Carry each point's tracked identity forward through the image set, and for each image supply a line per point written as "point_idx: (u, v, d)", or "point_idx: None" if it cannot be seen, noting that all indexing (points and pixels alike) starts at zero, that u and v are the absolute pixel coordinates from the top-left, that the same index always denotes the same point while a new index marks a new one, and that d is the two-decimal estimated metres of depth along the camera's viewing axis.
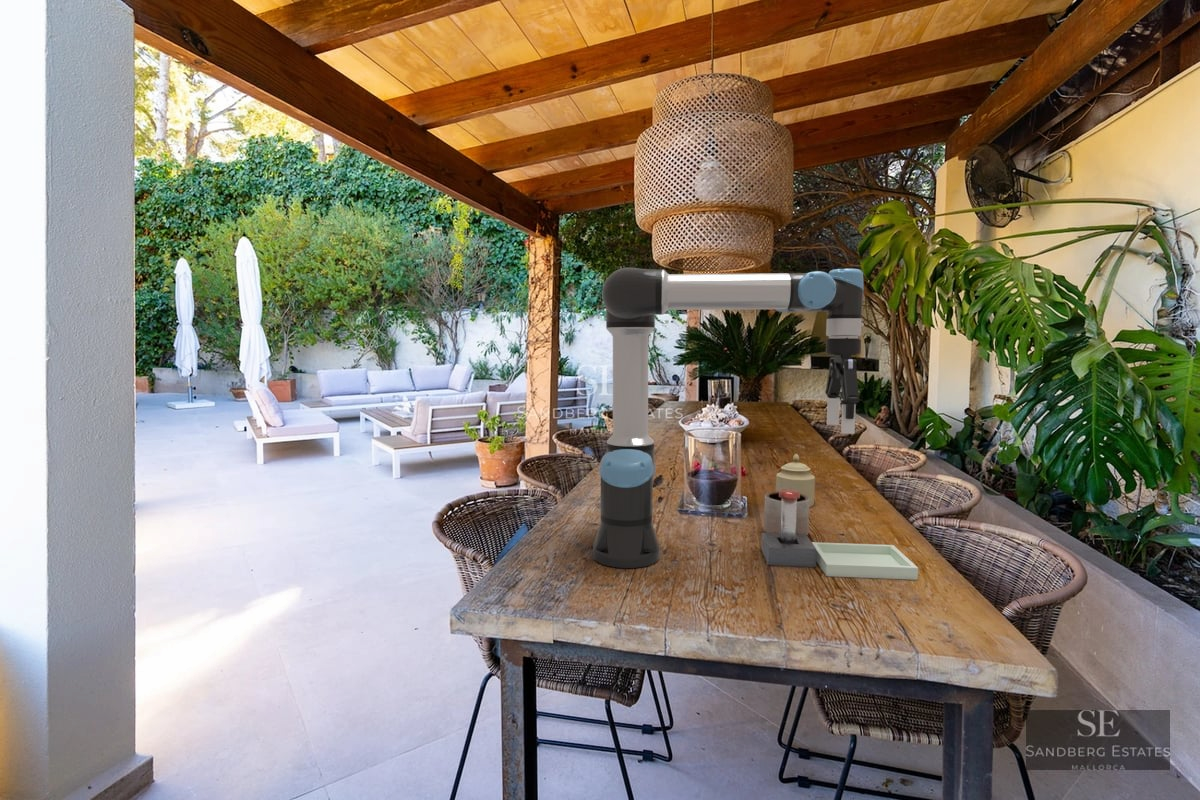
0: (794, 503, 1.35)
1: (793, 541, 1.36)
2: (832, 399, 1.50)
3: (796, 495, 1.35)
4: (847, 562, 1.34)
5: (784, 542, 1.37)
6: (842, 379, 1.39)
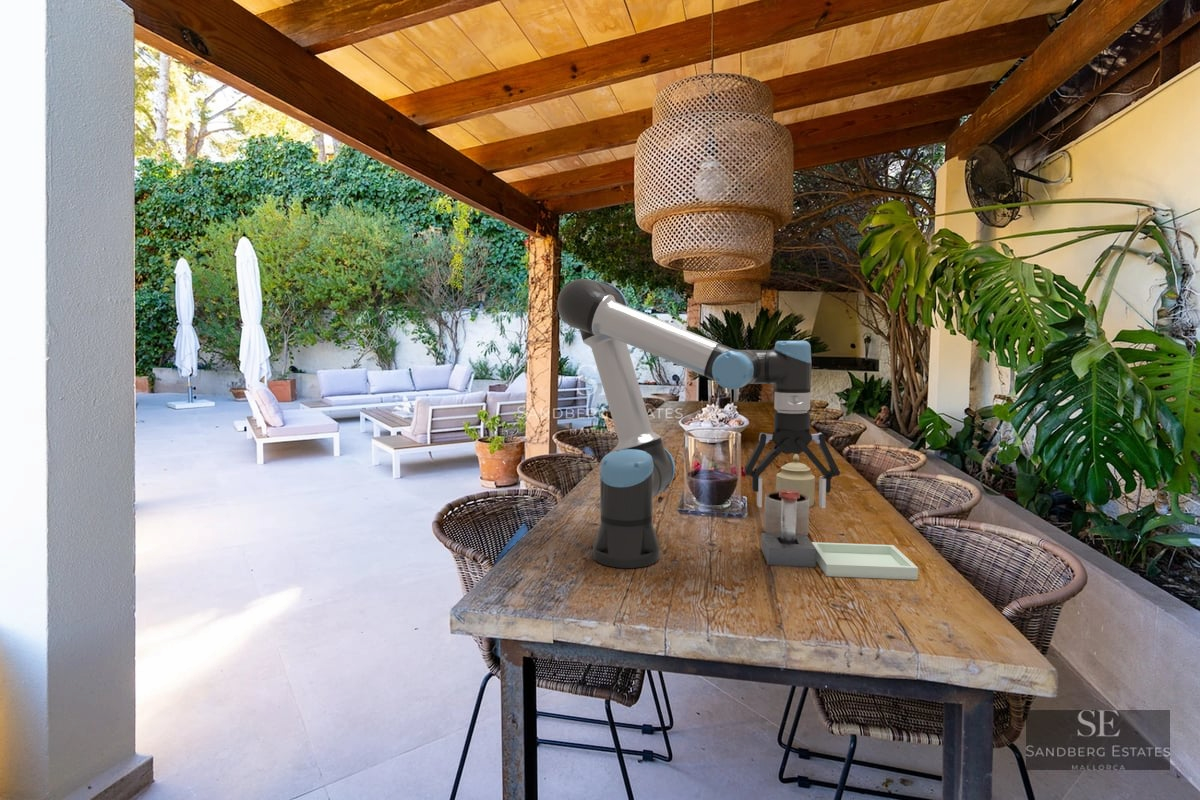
0: (794, 503, 1.35)
1: (793, 541, 1.36)
2: (820, 478, 1.36)
3: (796, 495, 1.35)
4: (847, 562, 1.34)
5: (784, 542, 1.37)
6: (769, 452, 1.37)
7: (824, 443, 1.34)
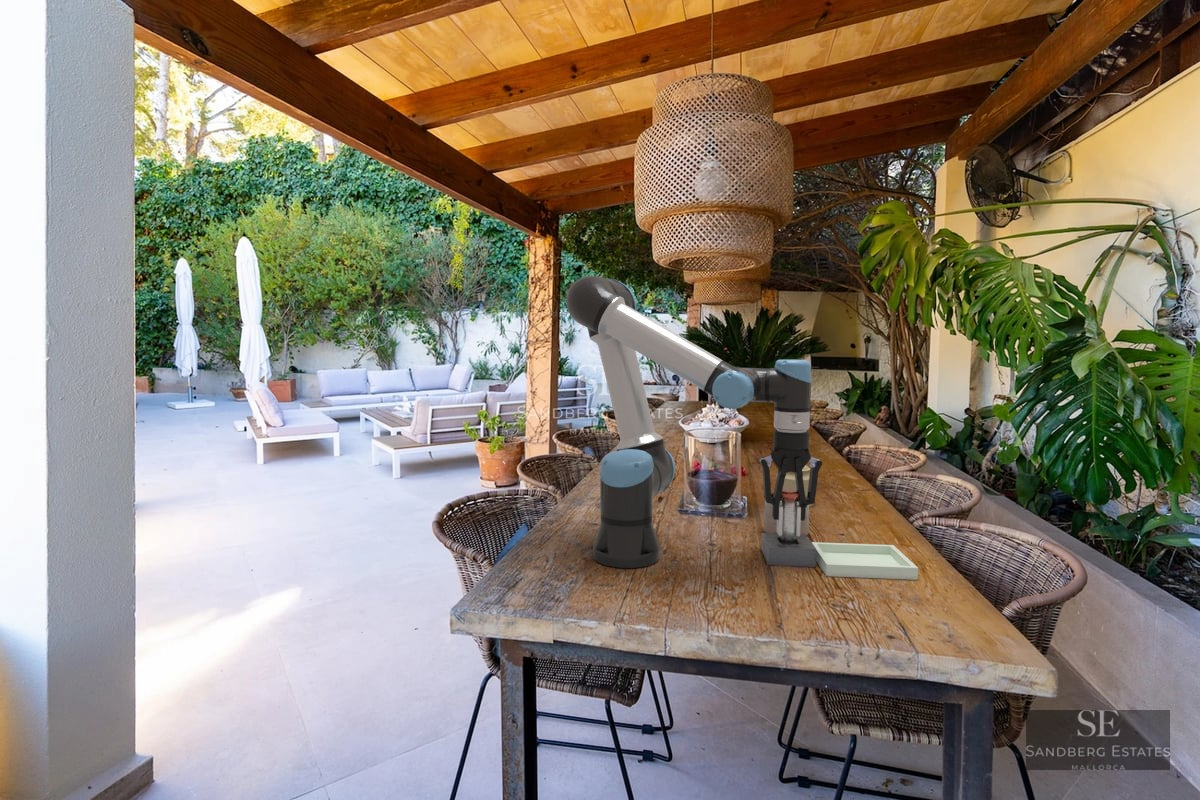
0: (794, 503, 1.35)
1: (793, 541, 1.36)
2: None
3: (796, 495, 1.35)
4: (847, 562, 1.34)
5: (784, 542, 1.37)
6: (777, 476, 1.38)
7: (817, 470, 1.34)
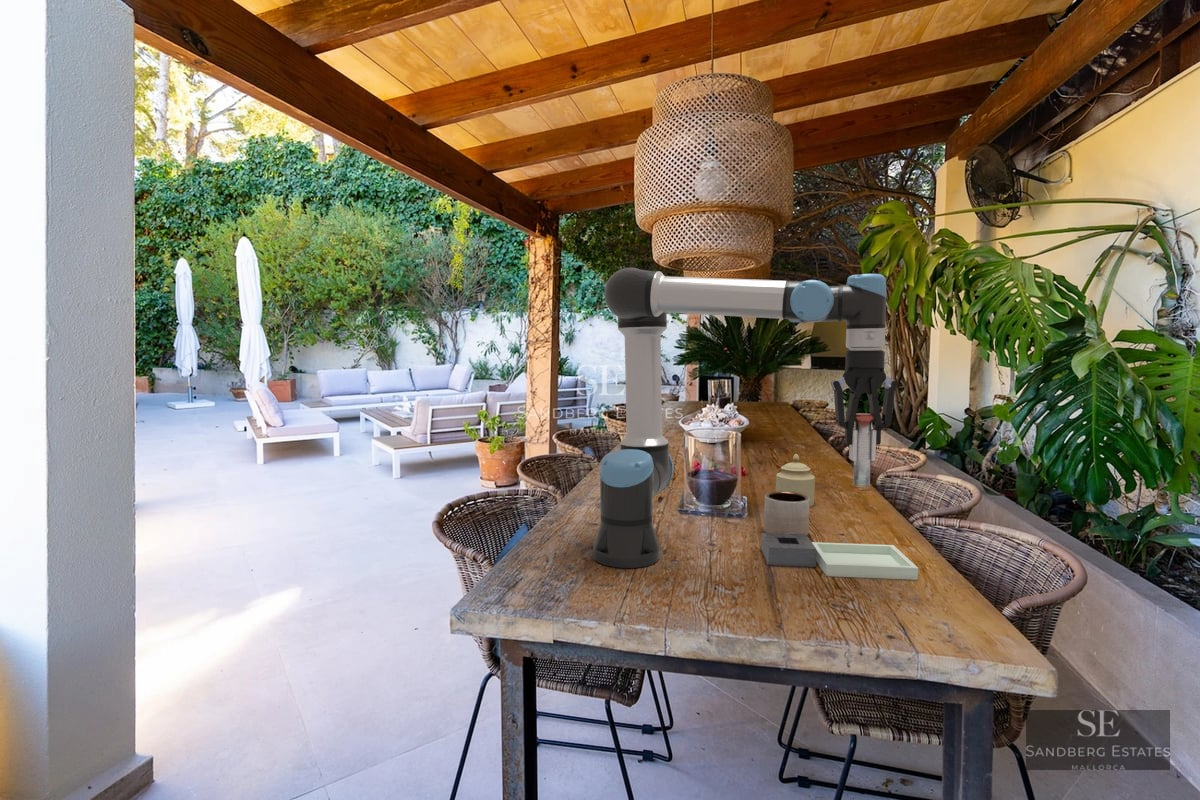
0: (869, 426, 1.29)
1: (868, 466, 1.30)
2: None
3: (871, 417, 1.28)
4: (847, 562, 1.34)
5: (858, 467, 1.30)
6: (850, 399, 1.31)
7: (893, 390, 1.28)
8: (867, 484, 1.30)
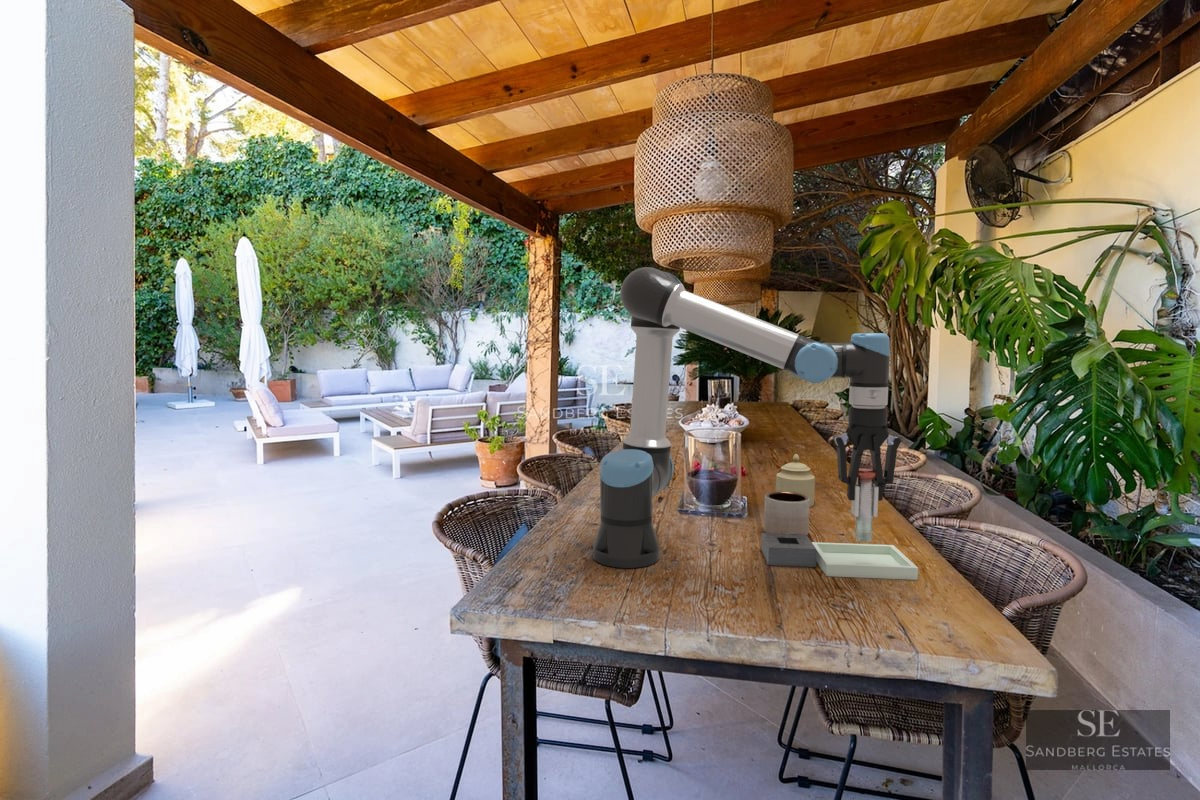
0: (871, 482, 1.30)
1: (870, 522, 1.31)
2: None
3: (874, 474, 1.29)
4: (847, 562, 1.34)
5: (861, 523, 1.31)
6: (852, 455, 1.32)
7: (896, 448, 1.29)
8: (869, 540, 1.31)
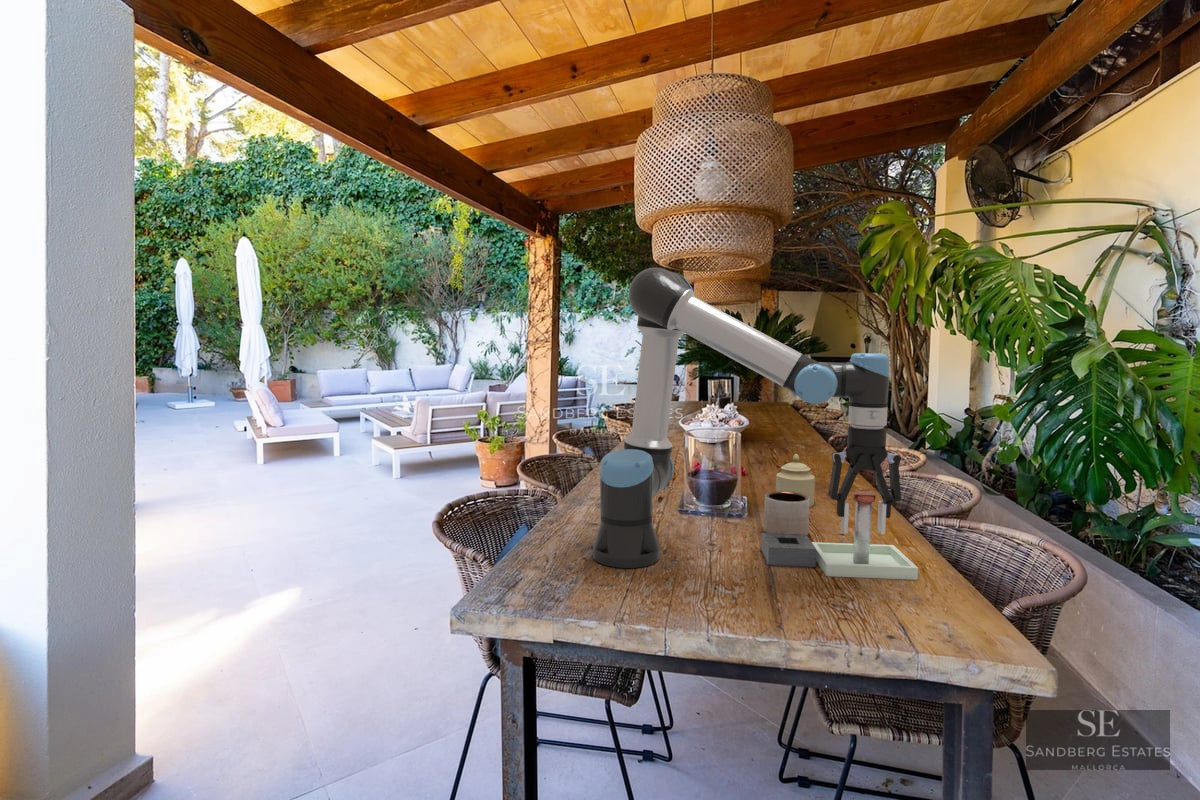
0: (870, 506, 1.31)
1: (868, 545, 1.32)
2: (879, 503, 1.32)
3: (872, 498, 1.30)
4: (847, 562, 1.34)
5: (858, 546, 1.32)
6: (847, 472, 1.33)
7: (897, 465, 1.29)
8: (866, 563, 1.32)
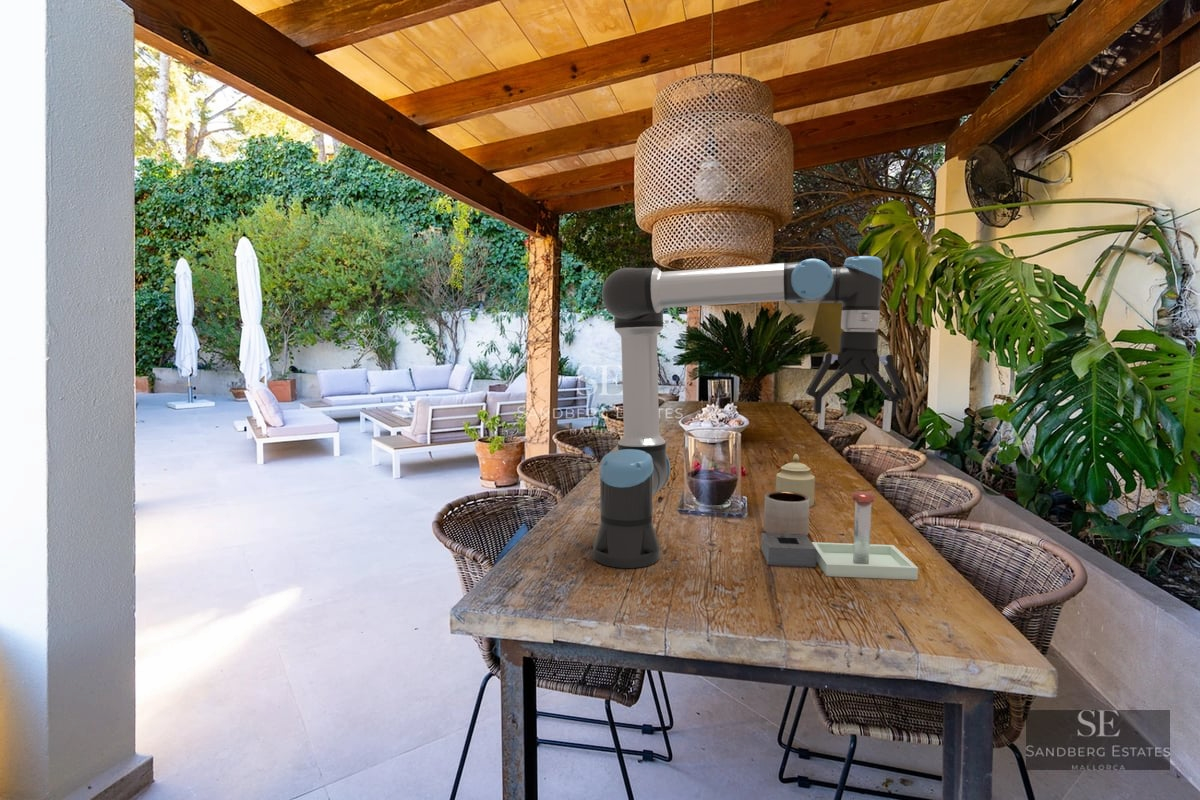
0: (869, 506, 1.31)
1: (868, 545, 1.32)
2: (885, 401, 1.32)
3: (872, 498, 1.30)
4: (847, 562, 1.34)
5: (858, 546, 1.32)
6: (833, 374, 1.34)
7: (892, 364, 1.30)
8: (866, 563, 1.32)
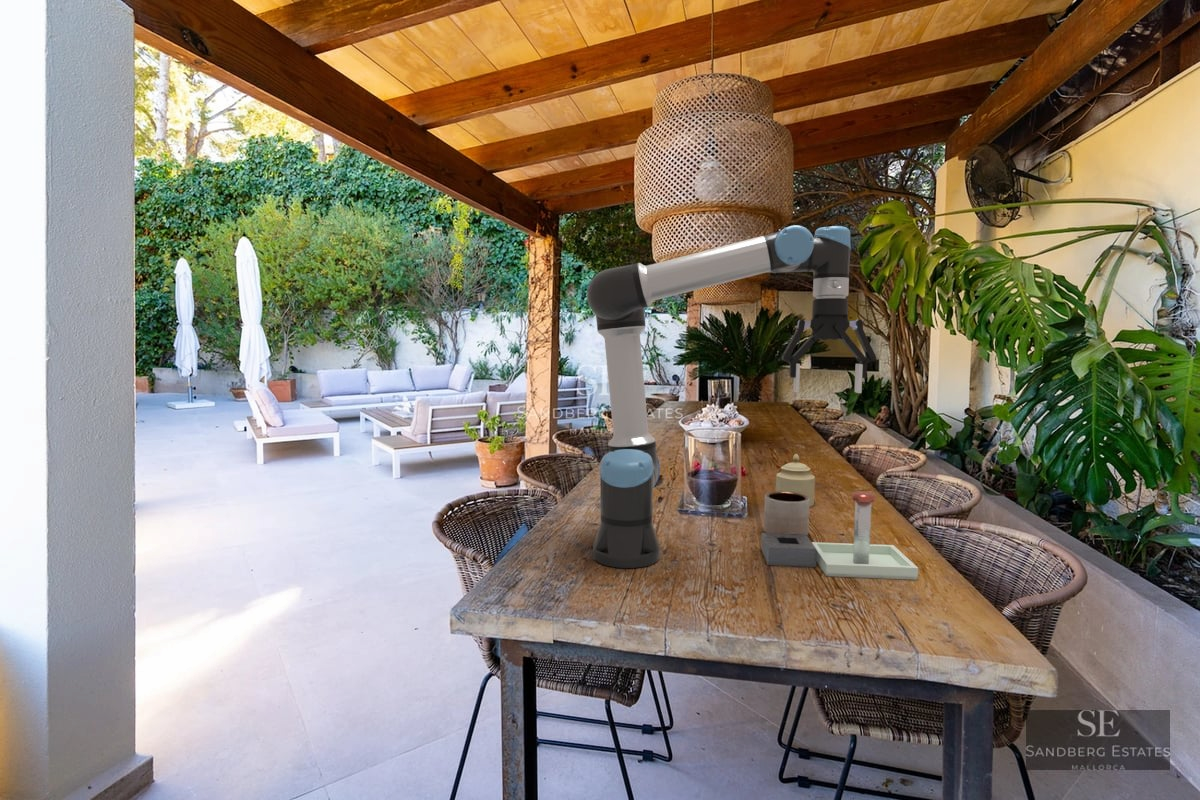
0: (869, 506, 1.31)
1: (868, 545, 1.32)
2: (856, 365, 1.39)
3: (872, 498, 1.30)
4: (847, 562, 1.34)
5: (858, 546, 1.32)
6: (807, 340, 1.41)
7: (861, 329, 1.37)
8: (866, 563, 1.32)
